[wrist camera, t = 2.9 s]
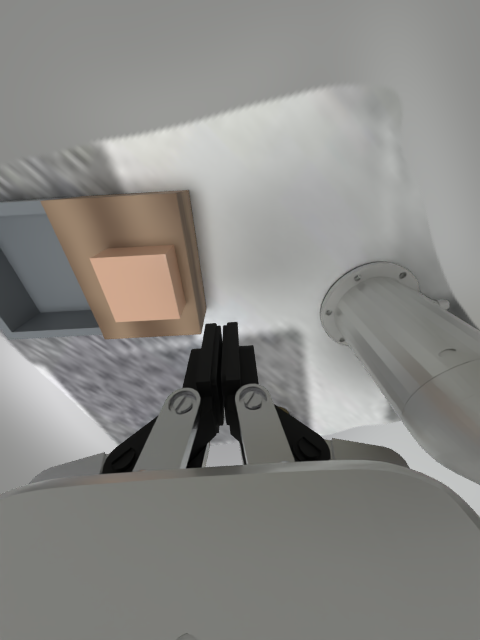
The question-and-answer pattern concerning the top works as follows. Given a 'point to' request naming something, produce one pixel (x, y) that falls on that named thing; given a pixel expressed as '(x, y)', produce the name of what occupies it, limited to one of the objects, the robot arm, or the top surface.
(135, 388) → the top surface
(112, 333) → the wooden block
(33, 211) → the box
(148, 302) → the terracotta block
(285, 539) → the robot arm
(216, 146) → the top surface
